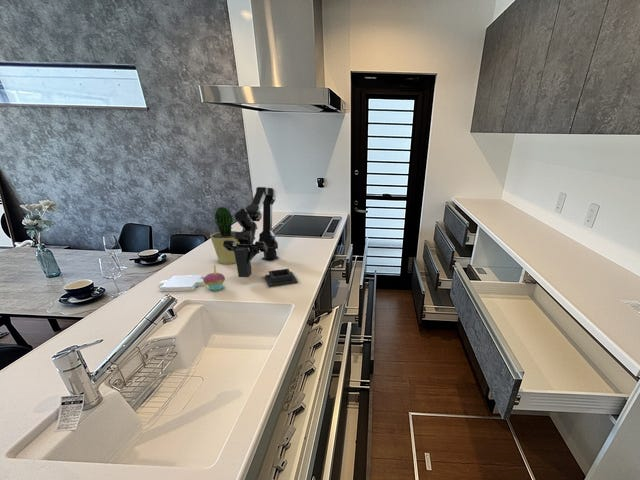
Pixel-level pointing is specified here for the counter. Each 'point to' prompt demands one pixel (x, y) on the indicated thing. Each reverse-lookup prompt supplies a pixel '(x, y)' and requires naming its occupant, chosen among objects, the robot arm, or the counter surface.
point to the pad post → (243, 262)
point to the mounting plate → (182, 283)
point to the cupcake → (214, 280)
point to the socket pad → (280, 278)
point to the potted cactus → (224, 236)
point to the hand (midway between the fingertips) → (242, 263)
